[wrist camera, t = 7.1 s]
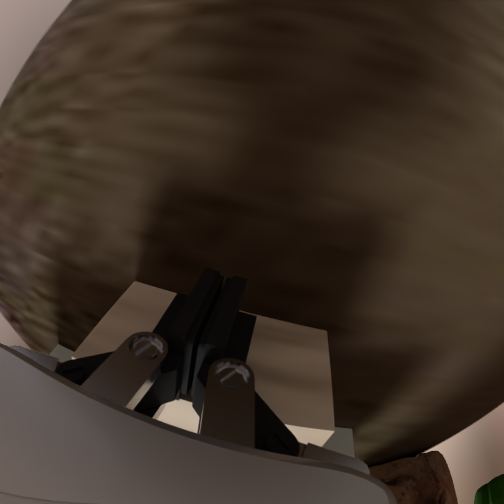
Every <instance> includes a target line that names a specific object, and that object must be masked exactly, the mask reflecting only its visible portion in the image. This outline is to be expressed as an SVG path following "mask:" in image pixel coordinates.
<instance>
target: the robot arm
mask: <svg viewBox="0 0 504 504" xmlns="http://www.w3.org/2000/svg"><path fill="white" fill-rule="evenodd" d="M219 273H220V272H219V271H216V270H213V269H209V268H205V270H204V272H203V273H202V275H201V277H200V278H199V280H198V282H197V283H196V285H195V287H194V288H193V290H192V292H191V293H190V295H189V296H186V295H183V294H180V293H178V294H177V295H176V296H175V297H174V299H173V300H172V302H171V303H170V305H169V306H168V308H167V310H166V311H165V313H164V314H163V316H162V317H161V319H160V320H159V322H158V324H157V325H156V327H155V328H154V330H153V331H152V332H145V331H144V332H137V333H135V334H132V335H131V336H129V337H128V338H127V339H126V340H125V341H124V342H123V343H122V344H121V345H120V346H119V347H118V348H117V349H116V350H115V351H112V352H107V353H102V354H97V355H92V356H87V357H82V358H77V359H72V360H68V361H65V362H60V359H59V358H55V357H52V356H49V355H45V354H42V353H39V352H36V351H33V350H30V349H27V348H24V347H21V346H10V347H8V346H6V345H3V344H1V343H0V504H397V501H396V498H395V496H394V494H393V492H392V491H391V489H390V488H389V487H388V486H387V485H386V484H384V483H383V482H381V481H380V480H378V479H376V478H375V477H373V476H370V471H369V469H368V466H367V465H366V464H365V463H364V462H363V461H362V460H359V459H357V458H354V457H351V456H348V455H344V454H341V453H338V452H335V451H332V450H329V449H326V448H323V447H320V446H317V445H315V444H312V443H309V442H308V443H307V444H304V443H301V442H298V440H297V438H296V437H295V435H294V434H293V433H292V432H291V431H290V430H289V429H288V428H287V427H286V425H285V424H284V423H283V422H282V421H281V420H280V419H279V418H278V416H277V415H276V414H275V413H274V412H273V411H272V410H271V409H270V407H269V406H268V405H267V404H266V403H265V402H264V400H263V399H262V398H261V397H260V396H259V395H258V393H257V392H256V391H255V377H254V372H253V371H252V369H251V368H250V367H249V366H248V365H247V364H246V360H247V356H248V352H249V348H250V344H251V339H252V335H253V331H254V327H255V323H256V318H257V316H255V315H252V314H248V313H244V312H241V311H239V310H240V306H241V302H242V298H243V294H244V290H245V286H246V282H247V279H244V278H241V277H237V276H233V278H232V279H231V278H227V280H226V282H225V284H224V286H223V289H222V291H221V288H222V283H223V278H224V276H220V275H219ZM192 381H193V385H192V392H191V397H193V403H192V407H193V409H194V410H195V412H196V413H197V415H198V416H199V422H198V429H197V433H194V432H191V431H188V430H185V429H182V428H179V427H176V426H173V425H170V424H167V423H164V422H162V421H159V420H157V419H158V417H159V416H160V414H161V413H162V411H163V410H164V408H165V406H166V403H168V402H172V401H175V400H178V401H179V400H180V397H181V394H185V395H187V394H188V391H189V389H190V386H191V384H192Z"/></svg>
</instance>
